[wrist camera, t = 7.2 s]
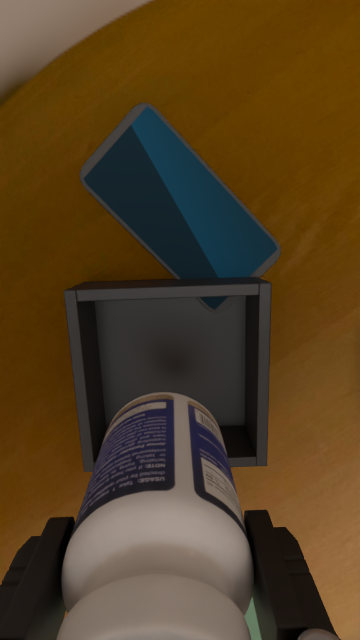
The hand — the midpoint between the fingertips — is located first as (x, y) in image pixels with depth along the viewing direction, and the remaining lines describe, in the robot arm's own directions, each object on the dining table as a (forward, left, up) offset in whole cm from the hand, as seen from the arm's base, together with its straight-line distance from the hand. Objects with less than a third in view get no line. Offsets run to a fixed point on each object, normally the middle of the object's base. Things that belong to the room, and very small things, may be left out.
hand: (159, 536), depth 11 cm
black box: (0, 0, -17) cm, 17 cm away
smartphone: (+1, +12, -18) cm, 21 cm away
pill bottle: (0, 0, -6) cm, 6 cm away
